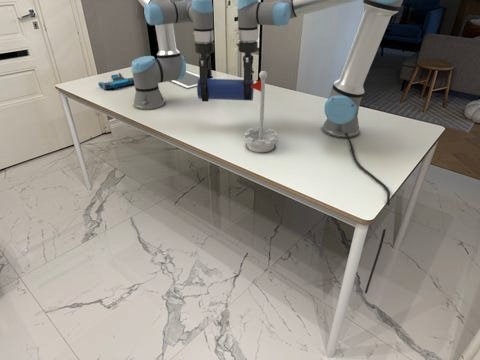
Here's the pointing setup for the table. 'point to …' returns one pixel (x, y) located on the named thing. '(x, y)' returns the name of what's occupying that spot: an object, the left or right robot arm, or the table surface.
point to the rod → (225, 89)
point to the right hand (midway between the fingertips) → (248, 94)
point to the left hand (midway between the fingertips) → (206, 97)
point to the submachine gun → (116, 82)
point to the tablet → (188, 80)
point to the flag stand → (261, 124)
